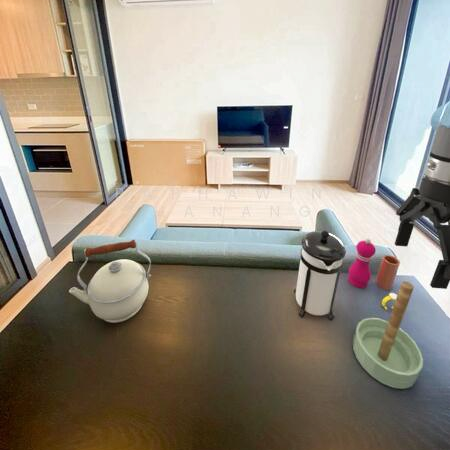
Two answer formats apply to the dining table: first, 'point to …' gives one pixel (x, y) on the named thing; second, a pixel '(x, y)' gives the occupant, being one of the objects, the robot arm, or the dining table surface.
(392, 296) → the watch
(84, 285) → the kettle
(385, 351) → the stirring stick
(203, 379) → the dining table surface
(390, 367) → the bowl
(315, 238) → the coffee press
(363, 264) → the pepper mill
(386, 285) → the utensil pot
